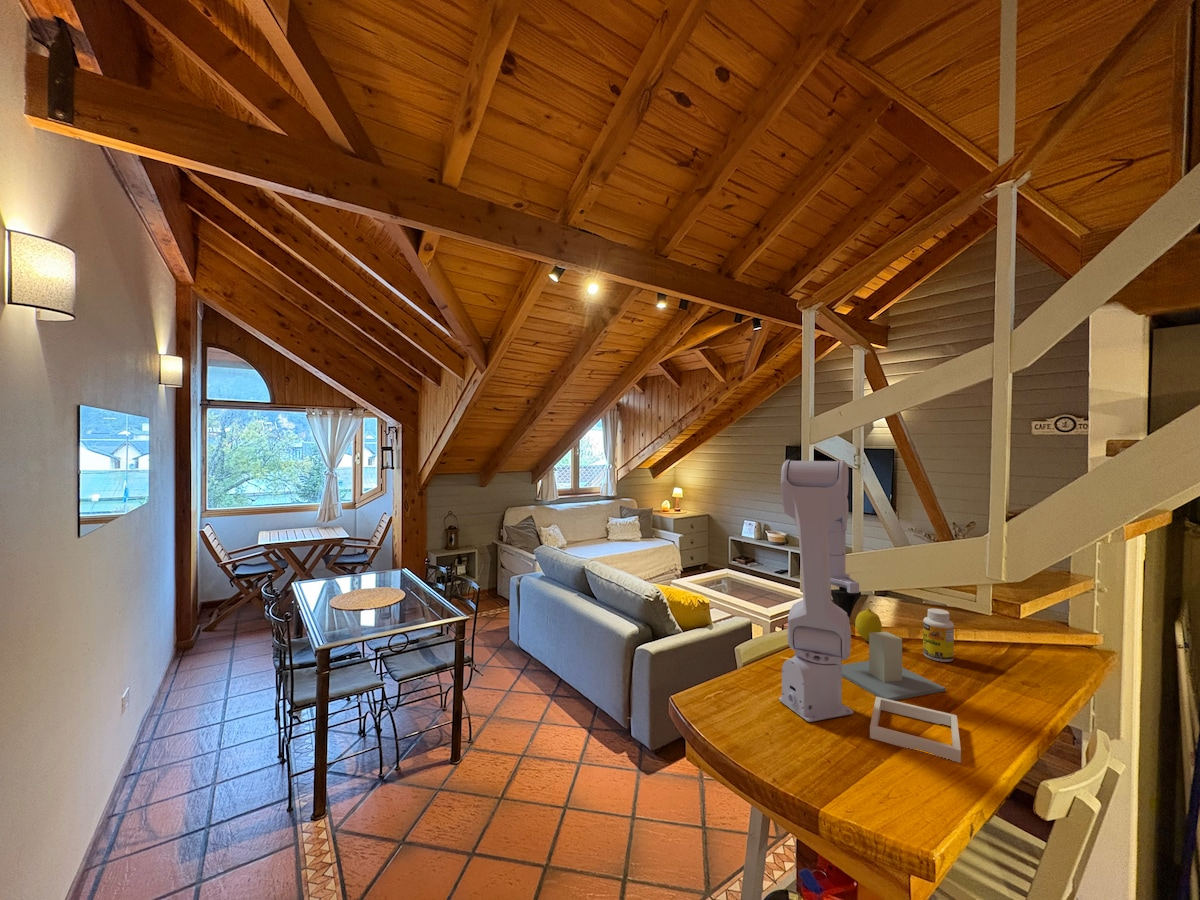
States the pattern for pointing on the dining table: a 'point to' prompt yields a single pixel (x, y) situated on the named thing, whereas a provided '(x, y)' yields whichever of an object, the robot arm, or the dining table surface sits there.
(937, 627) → the supplement bottle
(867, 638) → the fruit
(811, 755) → the dining table surface
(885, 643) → the block
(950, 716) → the rectangular frame
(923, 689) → the mat
